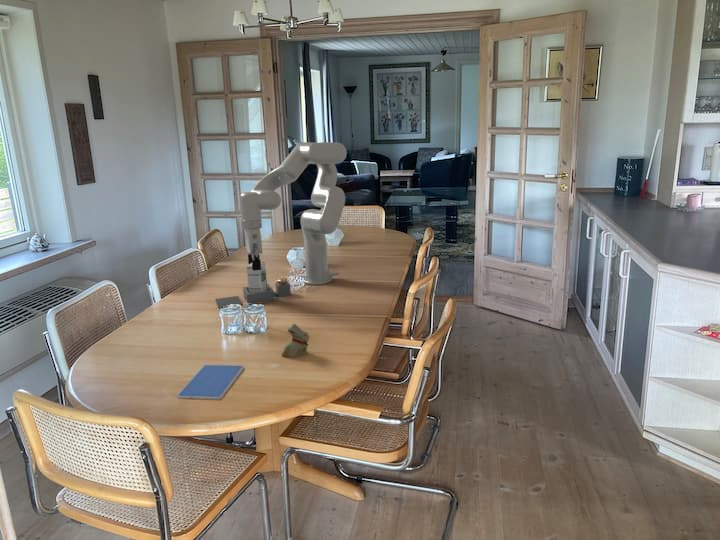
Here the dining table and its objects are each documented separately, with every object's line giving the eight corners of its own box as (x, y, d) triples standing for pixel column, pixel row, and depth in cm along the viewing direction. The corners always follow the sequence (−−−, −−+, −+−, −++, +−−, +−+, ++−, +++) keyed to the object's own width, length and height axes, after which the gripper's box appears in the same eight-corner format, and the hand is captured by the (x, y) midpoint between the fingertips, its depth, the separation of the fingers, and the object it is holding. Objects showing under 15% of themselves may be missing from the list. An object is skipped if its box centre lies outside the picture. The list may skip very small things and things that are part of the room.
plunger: (287, 291, 235) (286, 277, 233) (289, 294, 231) (288, 280, 229) (277, 292, 233) (276, 278, 232) (279, 295, 230) (278, 281, 228)
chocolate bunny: (306, 358, 172) (303, 327, 169) (280, 357, 173) (278, 326, 170) (310, 350, 177) (308, 320, 174) (286, 350, 178) (283, 320, 176)
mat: (238, 297, 232) (238, 295, 232) (242, 305, 222) (242, 303, 222) (215, 300, 229) (215, 298, 229) (218, 308, 219) (218, 307, 219)
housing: (286, 290, 238) (285, 279, 237) (292, 297, 228) (291, 286, 227) (243, 296, 232) (242, 284, 231) (247, 304, 223) (246, 292, 221)
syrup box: (263, 301, 226) (260, 265, 222) (249, 300, 227) (246, 265, 223) (268, 296, 231) (265, 261, 227) (254, 296, 233) (251, 261, 229)
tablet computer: (221, 401, 149) (220, 397, 148) (175, 400, 150) (174, 395, 150) (245, 369, 167) (244, 365, 167) (204, 368, 169) (203, 364, 168)
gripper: (265, 227, 214) (268, 271, 219) (257, 220, 230) (260, 261, 234) (245, 228, 212) (248, 273, 216) (238, 221, 228) (241, 263, 232)
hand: (254, 267), depth 225 cm, fingers open, 9 cm apart
